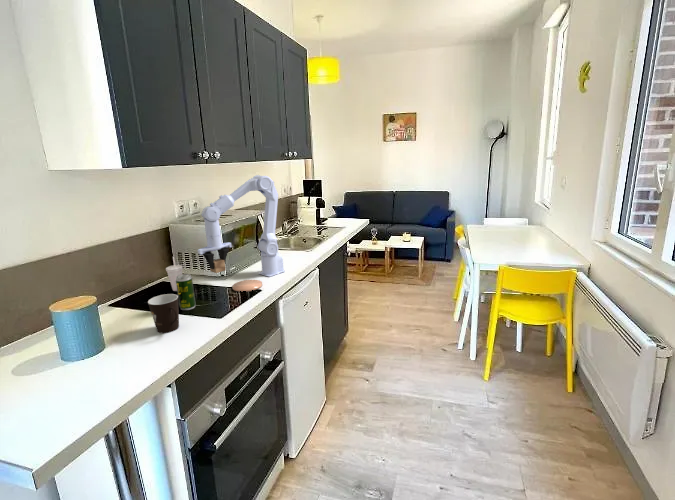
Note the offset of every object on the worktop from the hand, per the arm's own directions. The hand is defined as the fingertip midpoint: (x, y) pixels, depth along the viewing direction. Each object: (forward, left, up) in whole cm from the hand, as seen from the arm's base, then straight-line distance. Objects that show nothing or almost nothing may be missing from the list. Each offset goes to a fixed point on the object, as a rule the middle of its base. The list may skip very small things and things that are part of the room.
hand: (217, 267), depth 153 cm
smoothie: (+14, -9, -8) cm, 18 cm away
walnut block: (0, 0, -2) cm, 2 cm away
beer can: (+21, +13, -8) cm, 26 cm away
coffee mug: (+34, +25, -8) cm, 43 cm away
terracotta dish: (-5, +13, -8) cm, 16 cm away
